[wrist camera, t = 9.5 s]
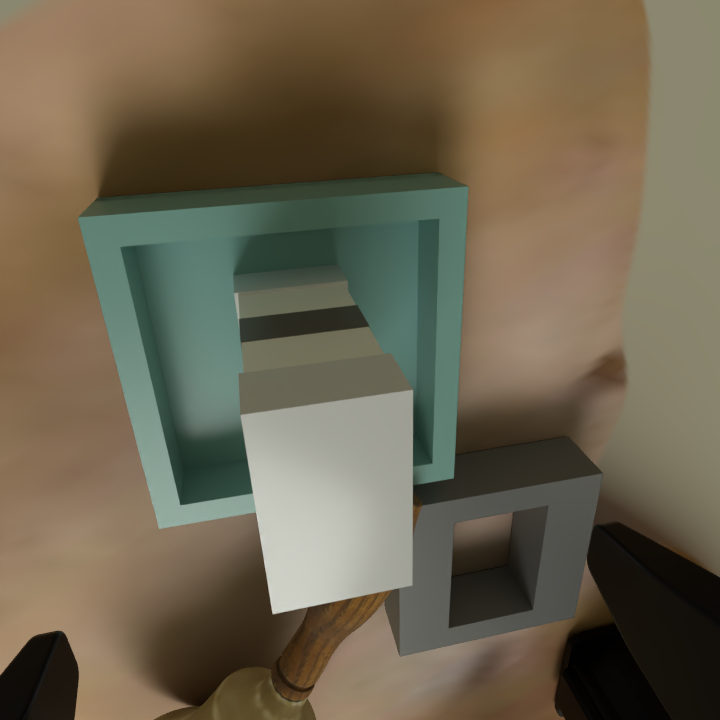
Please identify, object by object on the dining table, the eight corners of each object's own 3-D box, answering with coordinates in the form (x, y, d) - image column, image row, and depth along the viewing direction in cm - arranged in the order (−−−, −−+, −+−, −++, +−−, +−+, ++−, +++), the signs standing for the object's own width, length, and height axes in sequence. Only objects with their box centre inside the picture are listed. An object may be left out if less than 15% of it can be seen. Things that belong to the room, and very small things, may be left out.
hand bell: (257, 997, 19) (529, 632, 15) (53, 846, 19) (269, 466, 16) (321, 780, 27) (507, 511, 23) (175, 679, 27) (336, 404, 24)
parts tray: (438, 172, 18) (468, 186, 15) (430, 438, 22) (453, 478, 20) (97, 197, 16) (77, 217, 14) (166, 480, 21) (159, 528, 18)
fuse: (337, 264, 18) (412, 389, 11) (346, 406, 20) (412, 585, 13) (232, 275, 17) (240, 415, 10) (254, 420, 20) (272, 614, 13)
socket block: (568, 436, 24) (603, 473, 22) (546, 574, 27) (574, 617, 25) (381, 467, 22) (399, 509, 20) (384, 607, 26) (399, 656, 24)
